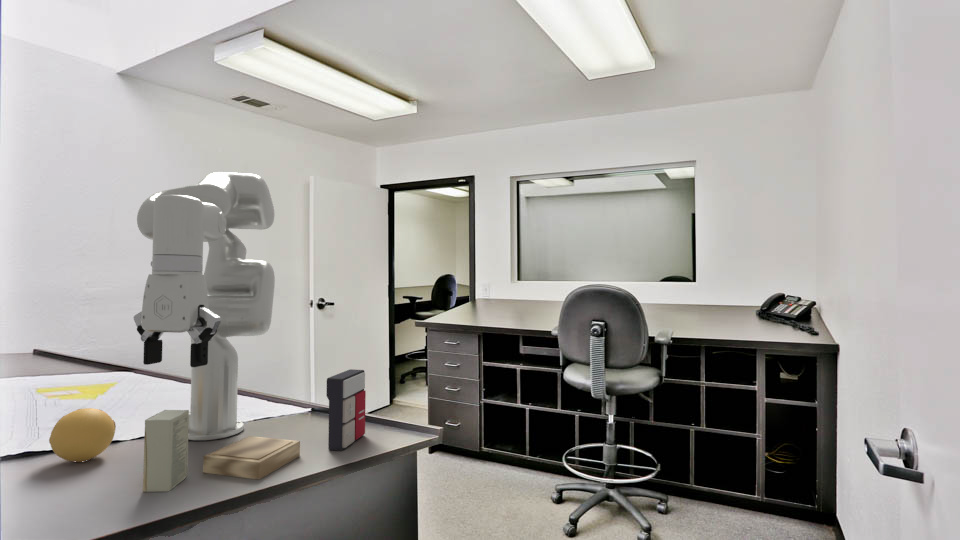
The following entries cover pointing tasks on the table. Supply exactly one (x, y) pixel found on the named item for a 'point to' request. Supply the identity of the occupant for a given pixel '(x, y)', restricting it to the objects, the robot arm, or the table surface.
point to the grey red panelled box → (346, 408)
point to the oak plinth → (251, 457)
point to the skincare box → (165, 450)
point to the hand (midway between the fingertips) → (175, 364)
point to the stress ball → (82, 434)
